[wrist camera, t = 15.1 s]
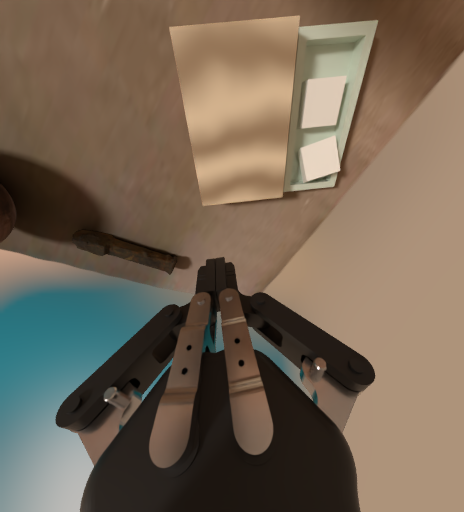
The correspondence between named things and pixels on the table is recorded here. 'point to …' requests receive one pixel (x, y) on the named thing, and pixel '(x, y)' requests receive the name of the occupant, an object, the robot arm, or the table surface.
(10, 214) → the wooden sphere
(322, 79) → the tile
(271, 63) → the light wood flat block
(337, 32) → the tray
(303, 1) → the table surface
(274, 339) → the robot arm
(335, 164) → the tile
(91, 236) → the hand tool
